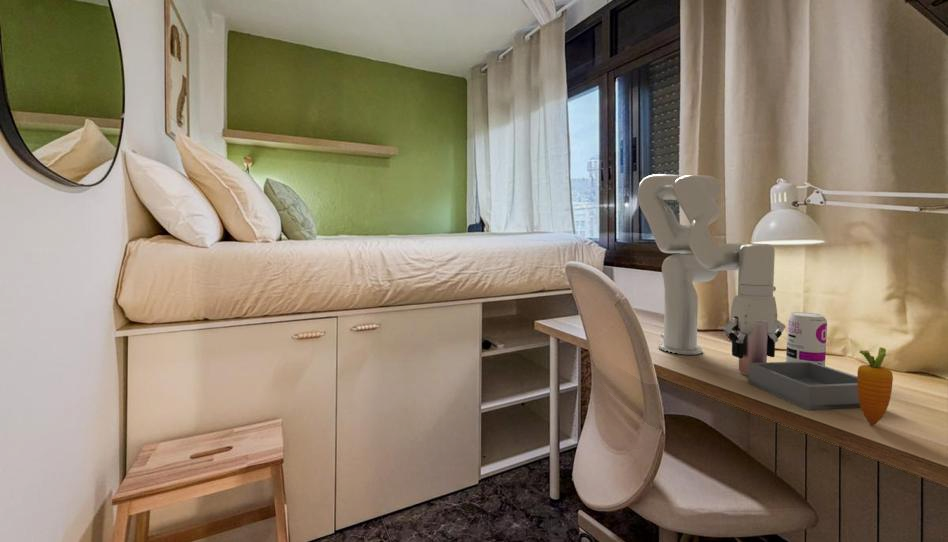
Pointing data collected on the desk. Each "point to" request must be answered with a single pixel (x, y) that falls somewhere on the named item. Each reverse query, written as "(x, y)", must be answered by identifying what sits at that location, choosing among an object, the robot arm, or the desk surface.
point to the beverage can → (754, 347)
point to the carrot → (874, 387)
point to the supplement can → (806, 338)
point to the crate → (806, 384)
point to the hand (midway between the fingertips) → (752, 356)
